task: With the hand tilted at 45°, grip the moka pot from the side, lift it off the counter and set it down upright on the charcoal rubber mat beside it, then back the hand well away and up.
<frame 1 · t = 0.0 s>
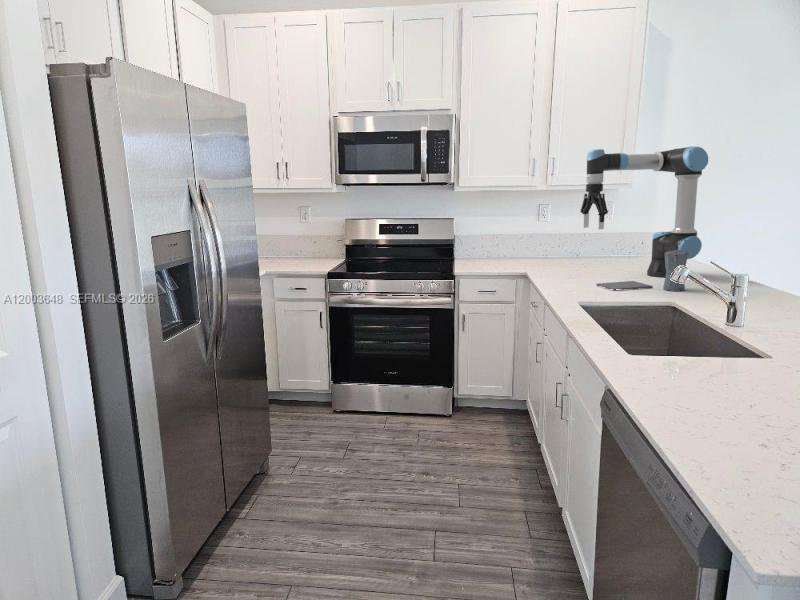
hand: (592, 228, 252), 28 cm above the worktop, tool pointing down, fingers open, 13 cm apart
charcoal mat: (623, 286, 252), on the worktop
moka pot: (673, 290, 241), on the worktop
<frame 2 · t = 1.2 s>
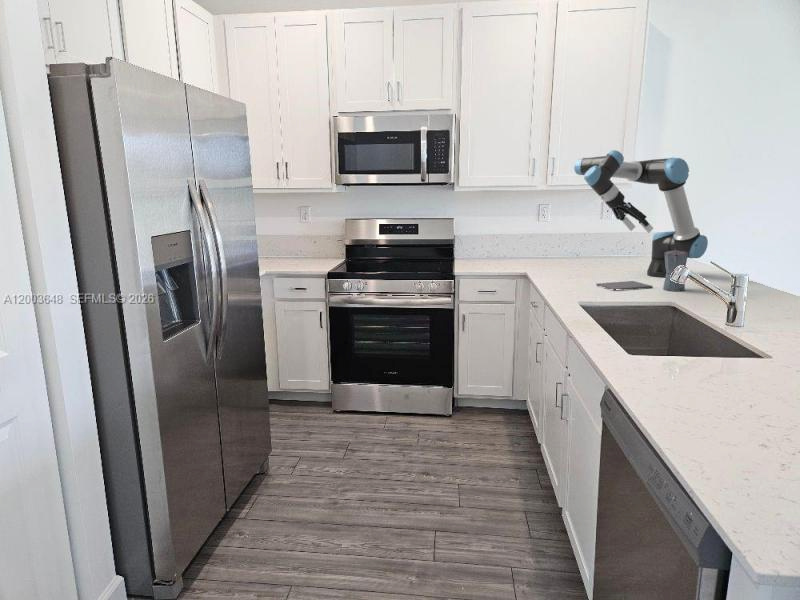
hand: (641, 229, 234), 28 cm above the worktop, tool tilted 45°, fingers open, 13 cm apart
nothing on the worktop moved.
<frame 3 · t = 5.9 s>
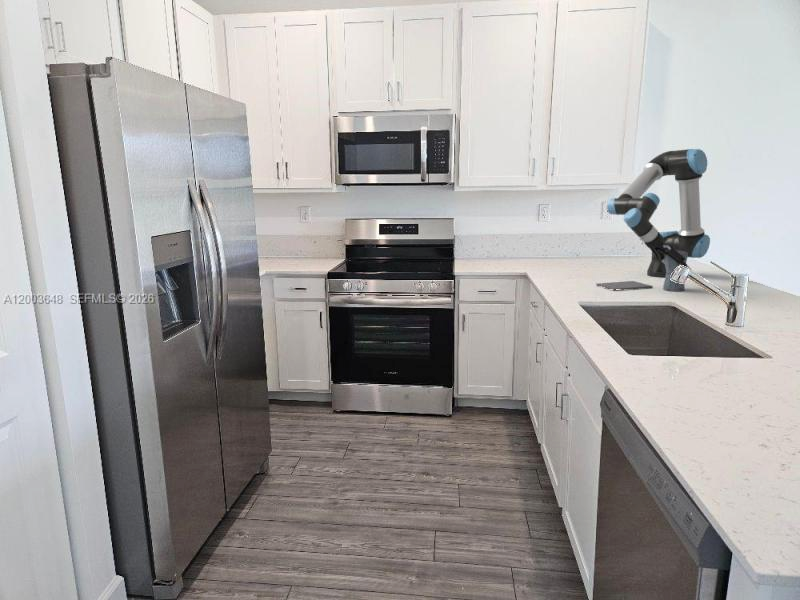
hand: (680, 269, 239), 9 cm above the worktop, tool tilted 45°, fingers closed on moka pot, 10 cm apart
moka pot: (673, 289, 241), on the worktop, touching gripper
when the fingers open (11 cm above the worktop, at t = 13.0 s): moka pot moves 3 cm, resting on charcoal mat.
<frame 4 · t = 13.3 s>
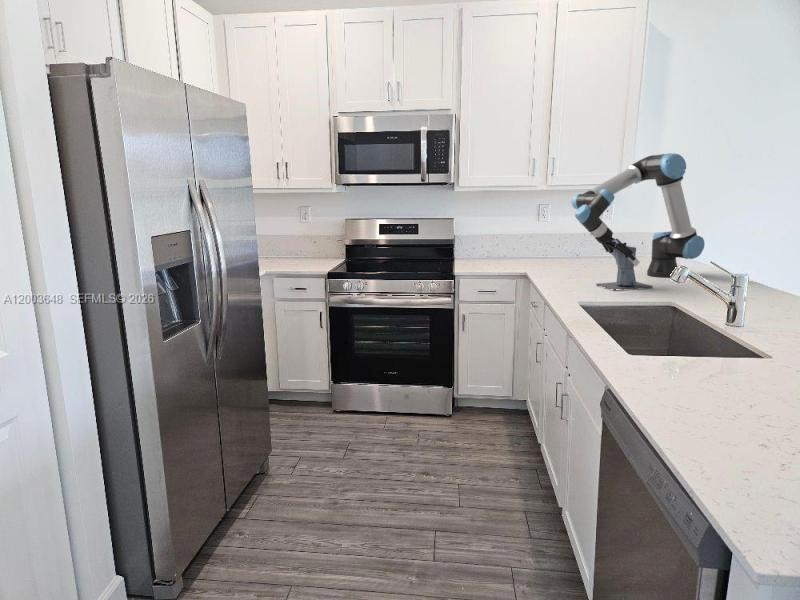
hand: (629, 262, 250), 12 cm above the worktop, tool tilted 45°, fingers open, 13 cm apart
moka pot: (625, 285, 249), point 1 cm above the worktop, touching charcoal mat, gripper
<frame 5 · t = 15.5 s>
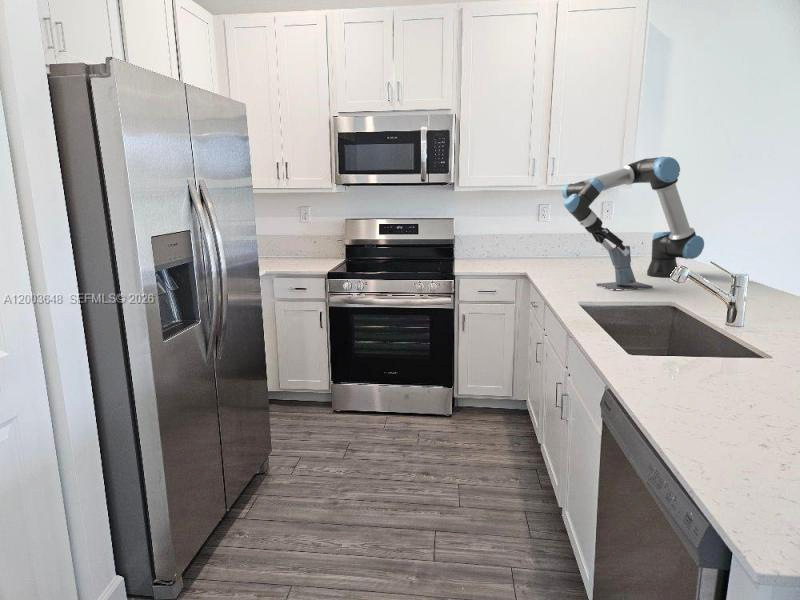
hand: (619, 252, 247), 17 cm above the worktop, tool tilted 45°, fingers open, 13 cm apart
moka pot: (625, 284, 247), point 2 cm above the worktop, touching charcoal mat, gripper
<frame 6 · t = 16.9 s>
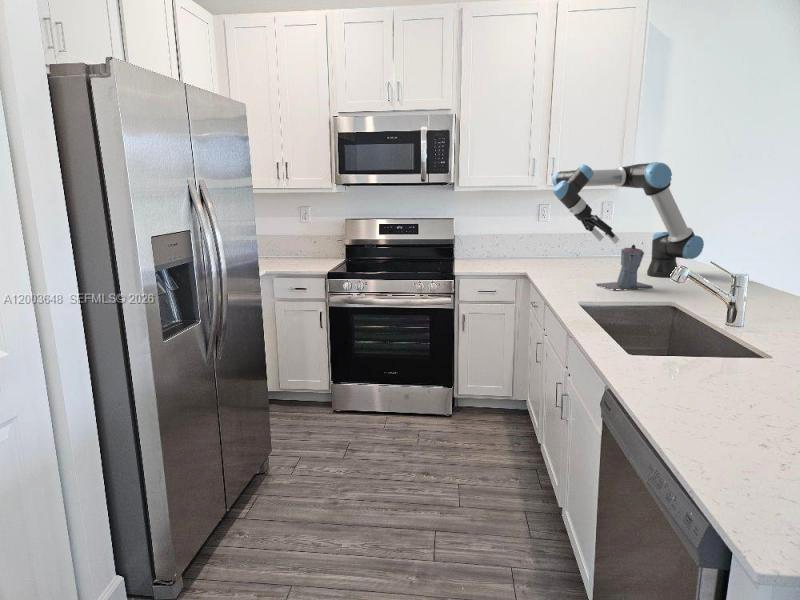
hand: (609, 240, 245), 23 cm above the worktop, tool tilted 45°, fingers open, 13 cm apart
moka pot: (625, 285, 247), point 2 cm above the worktop, touching charcoal mat
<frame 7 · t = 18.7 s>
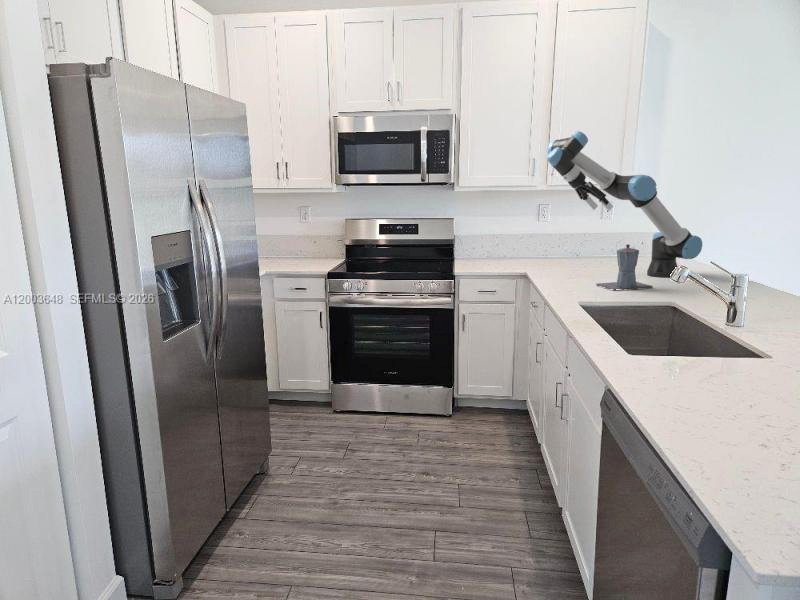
hand: (603, 208, 245), 38 cm above the worktop, tool tilted 45°, fingers open, 13 cm apart
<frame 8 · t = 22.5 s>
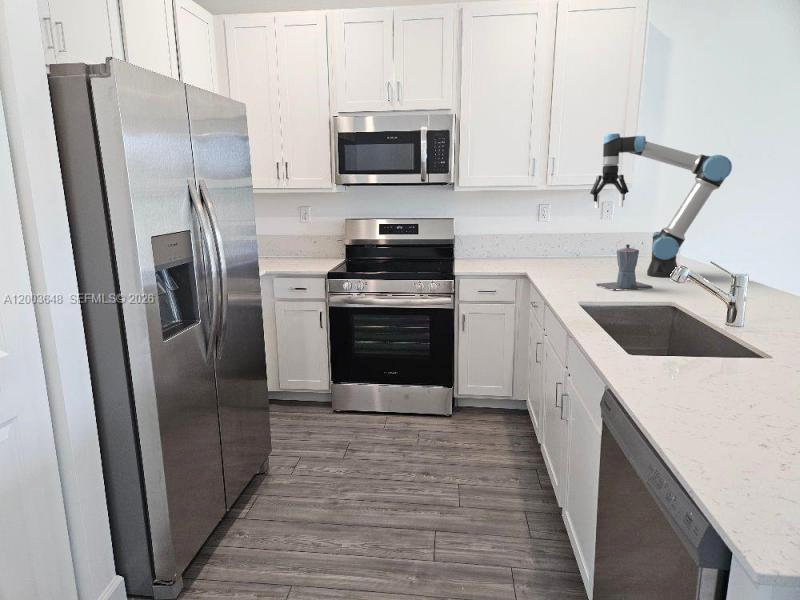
hand: (608, 207, 271), 37 cm above the worktop, tool pointing down, fingers open, 13 cm apart
at the end: moka pot inside the target area on the charcoal mat (4.4 cm from its centre), point 0.8 cm above the charcoal mat's base; moka pot tilted 0°; the gripper is holding nothing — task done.
